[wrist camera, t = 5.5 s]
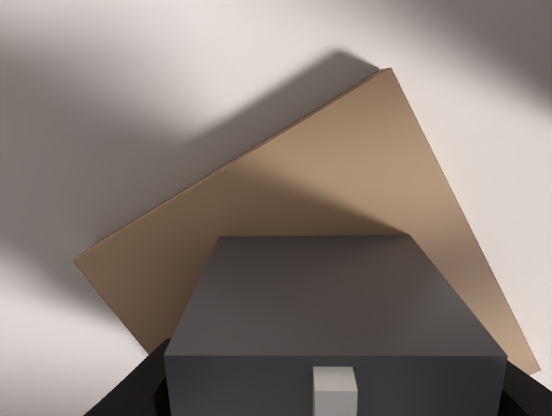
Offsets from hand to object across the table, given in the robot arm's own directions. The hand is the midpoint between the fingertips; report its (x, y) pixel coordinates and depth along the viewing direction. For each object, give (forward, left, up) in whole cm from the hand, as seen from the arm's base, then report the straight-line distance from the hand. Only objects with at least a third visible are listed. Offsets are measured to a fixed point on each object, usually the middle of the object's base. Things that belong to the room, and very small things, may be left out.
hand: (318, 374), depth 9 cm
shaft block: (0, 0, -3) cm, 3 cm away
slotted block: (0, 0, -2) cm, 2 cm away
